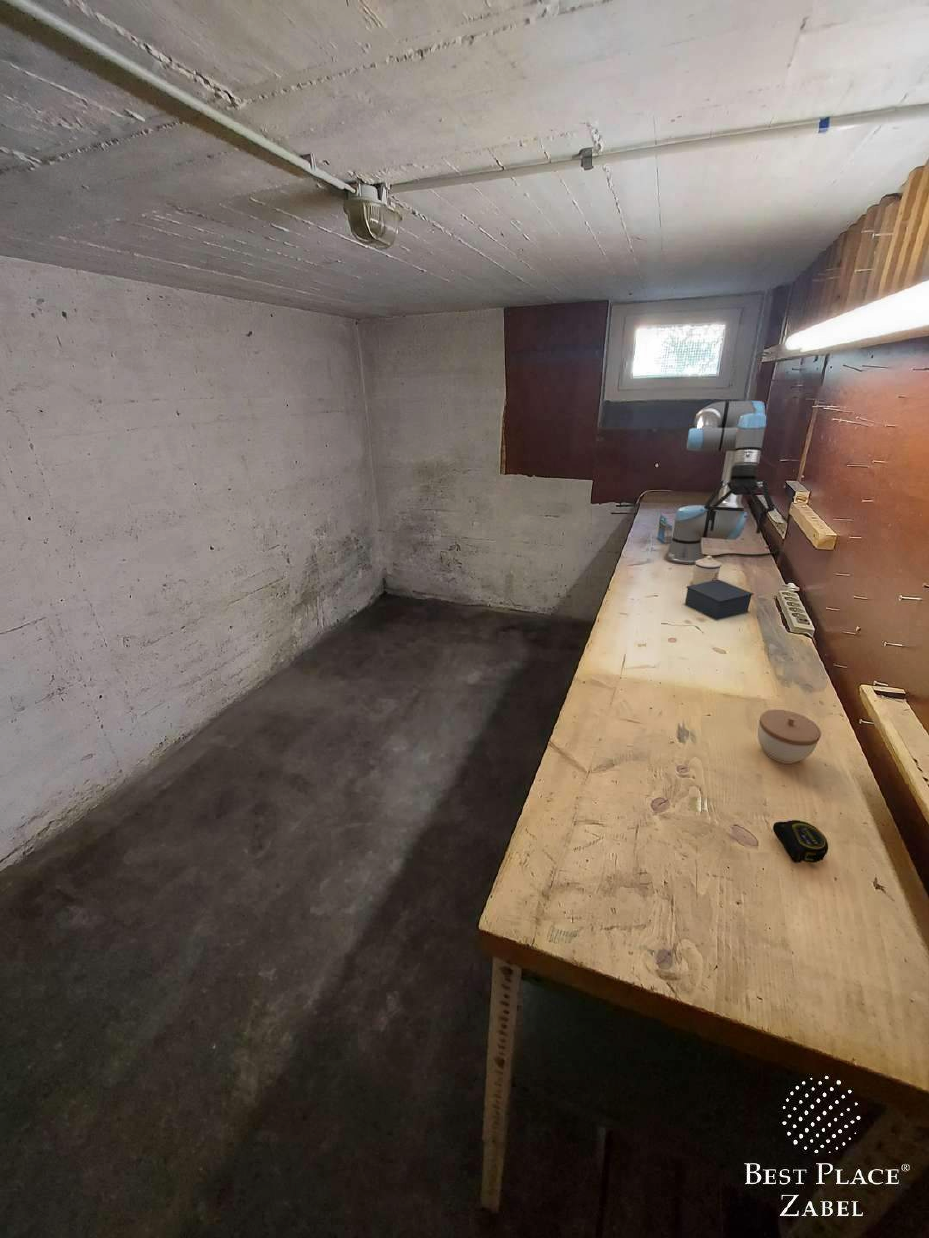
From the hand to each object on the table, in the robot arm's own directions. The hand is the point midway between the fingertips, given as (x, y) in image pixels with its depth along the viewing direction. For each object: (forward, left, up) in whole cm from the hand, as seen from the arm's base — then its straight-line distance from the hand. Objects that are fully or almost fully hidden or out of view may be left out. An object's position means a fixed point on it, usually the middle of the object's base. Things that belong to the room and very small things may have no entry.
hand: (734, 532), depth 159 cm
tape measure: (+67, +81, -27) cm, 108 cm away
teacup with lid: (-11, -17, -27) cm, 33 cm away
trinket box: (+48, +63, -27) cm, 83 cm away
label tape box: (-37, -69, -27) cm, 83 cm away
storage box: (+3, +2, -26) cm, 27 cm away
